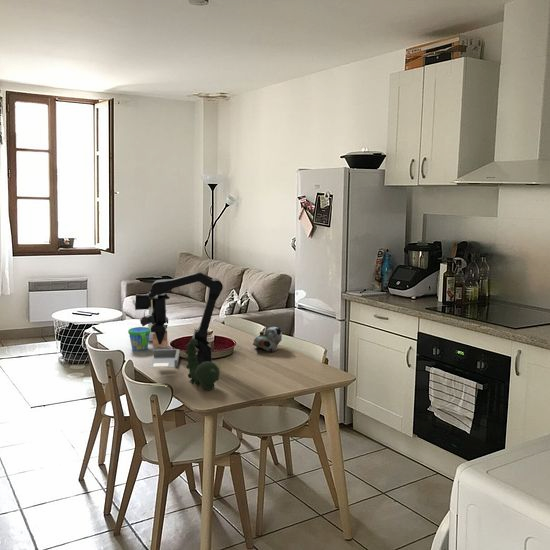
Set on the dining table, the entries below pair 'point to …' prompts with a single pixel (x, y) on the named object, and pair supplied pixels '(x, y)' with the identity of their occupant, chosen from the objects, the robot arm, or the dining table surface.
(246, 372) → the dining table surface
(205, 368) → the toy figurine
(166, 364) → the two-wall tray
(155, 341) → the terracotta block
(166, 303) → the flower vase
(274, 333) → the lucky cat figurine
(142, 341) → the snack cup
